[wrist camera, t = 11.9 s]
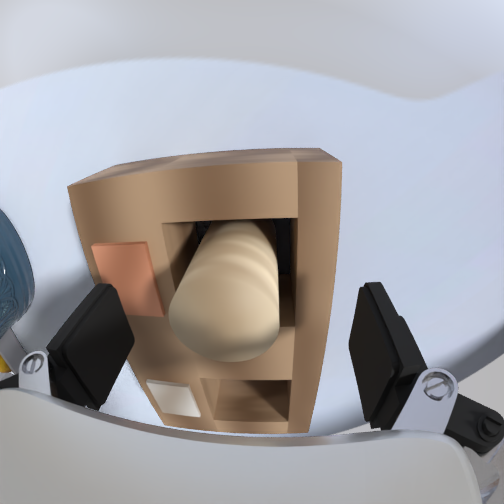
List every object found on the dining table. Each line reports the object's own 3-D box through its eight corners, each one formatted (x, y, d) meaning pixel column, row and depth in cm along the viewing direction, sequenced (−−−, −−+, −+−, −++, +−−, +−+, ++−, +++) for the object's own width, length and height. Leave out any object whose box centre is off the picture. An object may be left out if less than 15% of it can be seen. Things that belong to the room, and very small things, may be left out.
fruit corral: (9, 326, 24) (-5, 343, 21) (56, 395, 31) (47, 411, 27) (-32, 313, 25) (-43, 325, 22) (7, 373, 32) (-2, 386, 29)
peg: (275, 201, 16) (279, 277, 9) (276, 263, 18) (279, 362, 10) (206, 204, 16) (157, 278, 9) (213, 264, 18) (181, 359, 11)
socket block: (319, 148, 14) (343, 163, 9) (304, 386, 23) (308, 435, 18) (116, 164, 15) (63, 188, 10) (177, 382, 24) (163, 427, 19)
